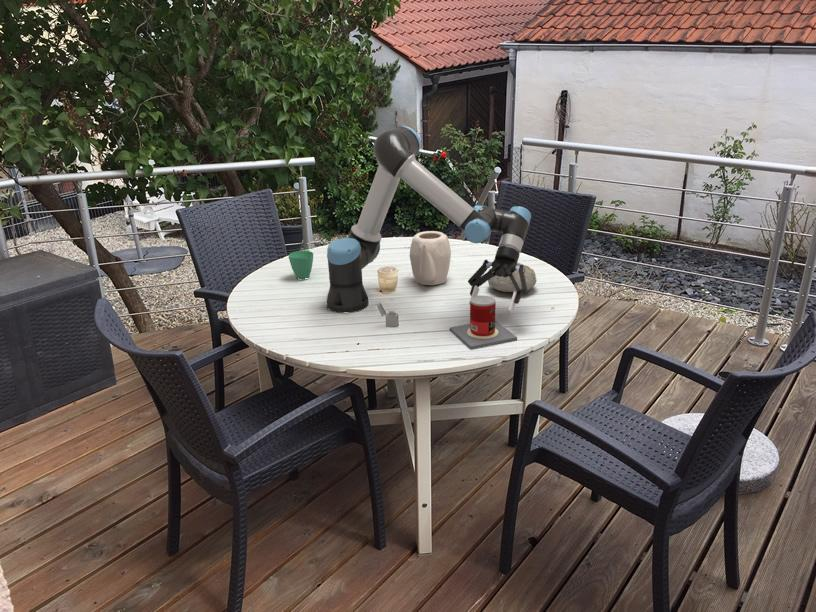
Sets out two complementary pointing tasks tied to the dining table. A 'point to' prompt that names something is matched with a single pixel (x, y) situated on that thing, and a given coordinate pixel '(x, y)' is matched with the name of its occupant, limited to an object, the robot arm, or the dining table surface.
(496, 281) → the grey rounded rock
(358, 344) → the dining table surface
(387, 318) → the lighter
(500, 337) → the mat
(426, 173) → the robot arm
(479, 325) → the canned food
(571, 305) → the dining table surface
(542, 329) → the dining table surface
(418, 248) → the cream ceramic pot
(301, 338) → the dining table surface
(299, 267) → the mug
